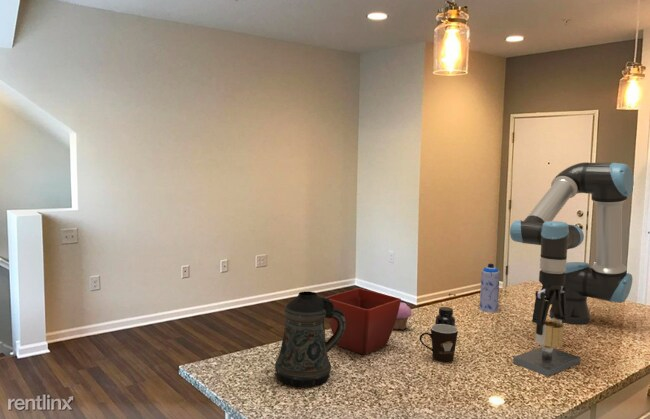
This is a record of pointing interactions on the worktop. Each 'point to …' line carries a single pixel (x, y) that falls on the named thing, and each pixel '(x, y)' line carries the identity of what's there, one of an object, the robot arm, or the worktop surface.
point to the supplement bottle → (445, 316)
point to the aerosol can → (489, 289)
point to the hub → (552, 333)
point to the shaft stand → (546, 360)
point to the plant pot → (365, 319)
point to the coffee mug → (442, 342)
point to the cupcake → (402, 316)
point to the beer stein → (307, 341)
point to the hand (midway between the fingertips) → (548, 341)
